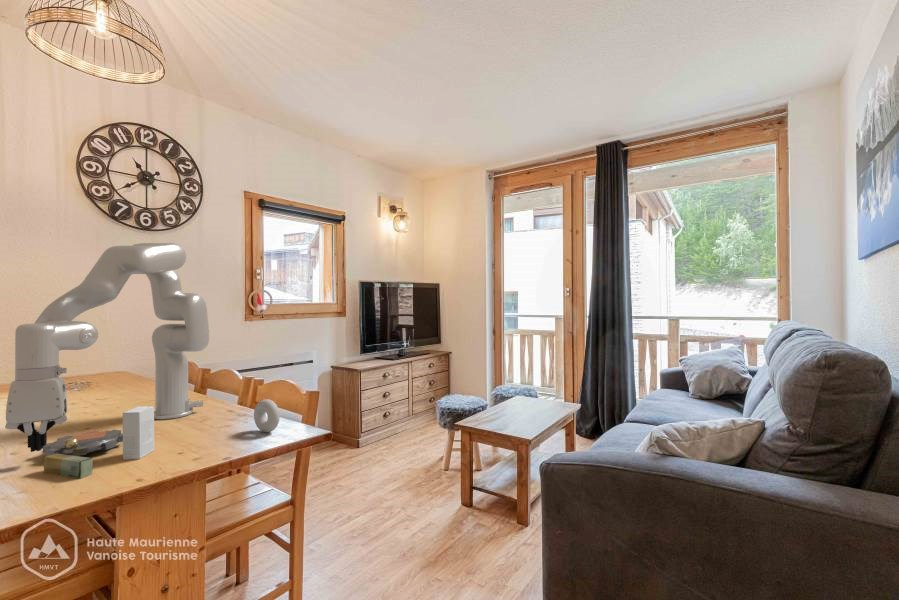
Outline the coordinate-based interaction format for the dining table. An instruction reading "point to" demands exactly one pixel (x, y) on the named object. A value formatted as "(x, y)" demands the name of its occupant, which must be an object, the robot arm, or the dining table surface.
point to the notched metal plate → (84, 443)
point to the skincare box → (138, 432)
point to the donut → (272, 414)
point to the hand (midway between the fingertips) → (37, 449)
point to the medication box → (68, 465)
